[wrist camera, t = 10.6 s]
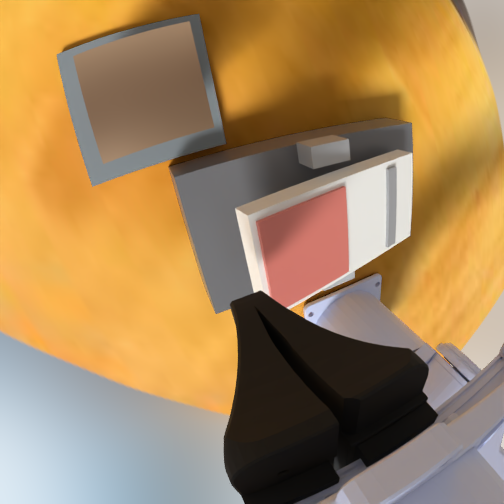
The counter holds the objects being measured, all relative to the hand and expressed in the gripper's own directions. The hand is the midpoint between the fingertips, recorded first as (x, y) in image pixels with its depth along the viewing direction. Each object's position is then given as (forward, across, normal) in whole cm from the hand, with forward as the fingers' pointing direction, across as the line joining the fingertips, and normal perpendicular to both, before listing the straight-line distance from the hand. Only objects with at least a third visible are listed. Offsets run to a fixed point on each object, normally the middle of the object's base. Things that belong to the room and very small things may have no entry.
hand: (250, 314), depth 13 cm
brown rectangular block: (+8, +1, -9) cm, 12 cm away
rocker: (+5, -7, 0) cm, 8 cm away
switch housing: (+9, -7, 0) cm, 11 cm away
